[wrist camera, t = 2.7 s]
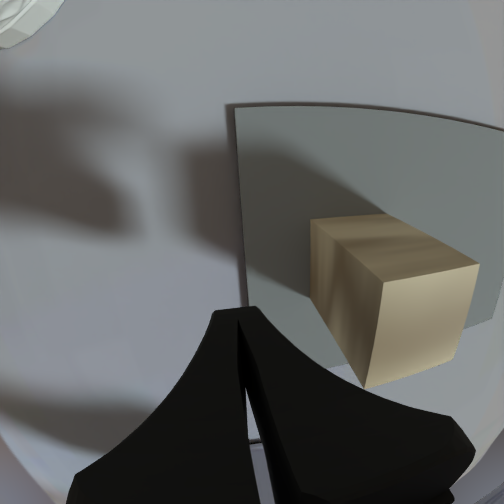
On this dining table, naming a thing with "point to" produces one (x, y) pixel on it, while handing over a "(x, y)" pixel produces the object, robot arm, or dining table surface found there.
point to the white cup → (24, 19)
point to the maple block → (389, 294)
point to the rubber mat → (361, 199)
